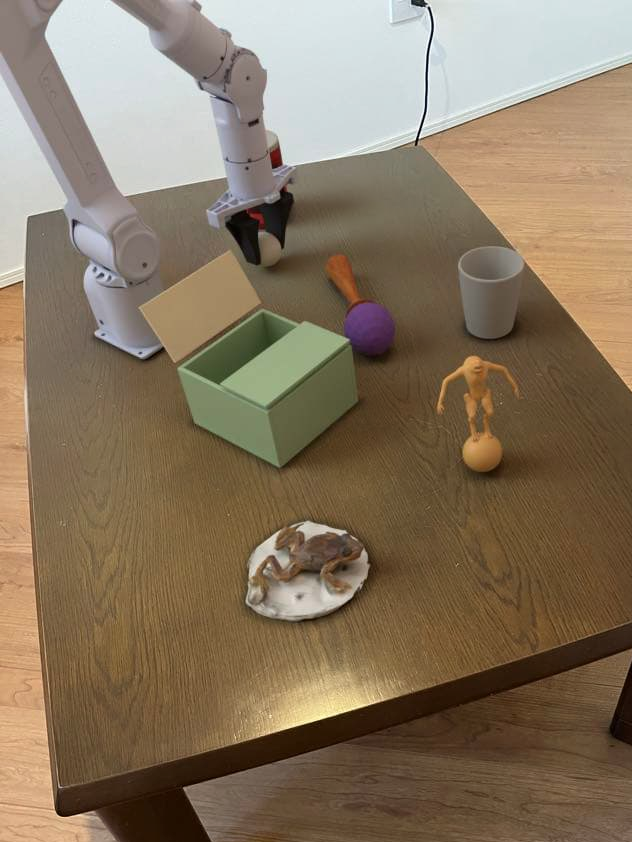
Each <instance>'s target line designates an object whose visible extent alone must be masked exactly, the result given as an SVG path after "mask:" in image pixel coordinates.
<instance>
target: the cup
mask: <svg viewBox="0 0 632 842" xmlns="http://www.w3.org/2000/svg"><path fill="white" fill-rule="evenodd" d="M457 269H458V276H459V277H458V278H459V286H460V294H461V301H462V302H461V303H462V308H463V314H464V321H465V326H466V330H467V332H469V333H470V334H471V335H472V336H475V337H476V338H480V339H485V340H495V339H499V338H502V337H504V336H507V335H508V334H509V333H511V331H512V330H513V328H514V323H515V319H516V314H517V309H518V305H519V300H520V297H521V296H520V295H521V288H522V283H523V277H524V271H525V260H524V258H523V257H522V255H521V254H519V252H517V251H516V250H513V249H511V248H508V247H503V246H495V245H492V246H491V245H490V246H488V245H487V246H481V247H476V248H473V249H471V250H469V251H466V252H465V253H464V254H463V255H462V256H460V258H459V260H458V263H457Z"/></svg>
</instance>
